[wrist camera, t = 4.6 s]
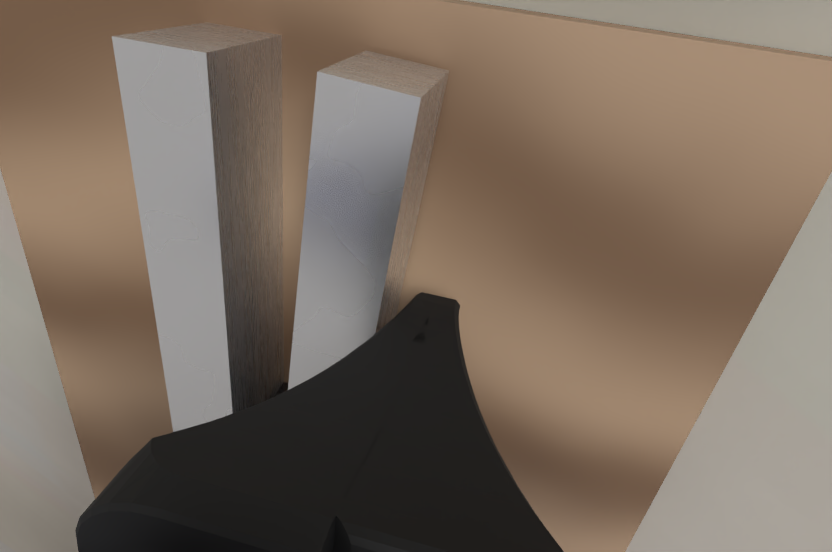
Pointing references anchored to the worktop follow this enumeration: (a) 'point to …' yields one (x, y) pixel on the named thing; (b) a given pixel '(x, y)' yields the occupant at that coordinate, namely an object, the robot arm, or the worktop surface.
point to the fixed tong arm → (210, 208)
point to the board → (458, 219)
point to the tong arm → (361, 202)
